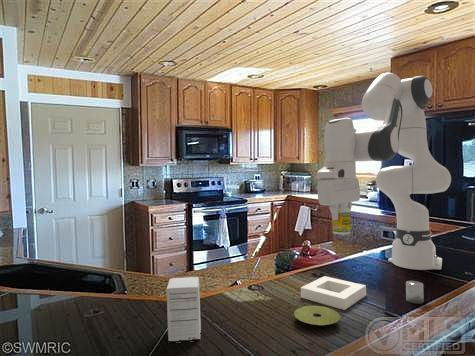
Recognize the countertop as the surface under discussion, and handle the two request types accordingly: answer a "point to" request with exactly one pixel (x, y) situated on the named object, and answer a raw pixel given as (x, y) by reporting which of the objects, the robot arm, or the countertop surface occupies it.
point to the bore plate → (341, 300)
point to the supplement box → (183, 309)
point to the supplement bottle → (342, 220)
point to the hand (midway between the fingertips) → (341, 218)
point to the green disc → (317, 315)
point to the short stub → (414, 292)
